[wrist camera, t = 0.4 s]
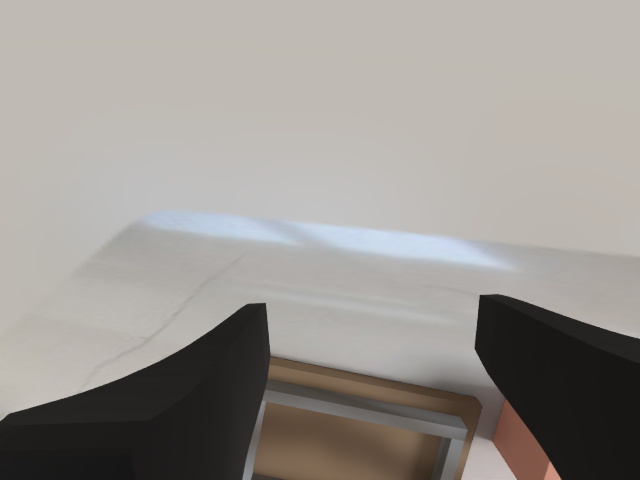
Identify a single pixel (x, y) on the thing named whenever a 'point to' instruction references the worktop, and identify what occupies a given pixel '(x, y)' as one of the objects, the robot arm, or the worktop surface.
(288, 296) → the worktop surface
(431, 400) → the cradle
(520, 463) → the block
